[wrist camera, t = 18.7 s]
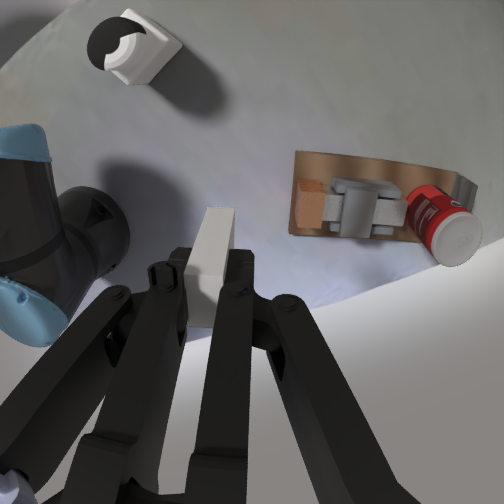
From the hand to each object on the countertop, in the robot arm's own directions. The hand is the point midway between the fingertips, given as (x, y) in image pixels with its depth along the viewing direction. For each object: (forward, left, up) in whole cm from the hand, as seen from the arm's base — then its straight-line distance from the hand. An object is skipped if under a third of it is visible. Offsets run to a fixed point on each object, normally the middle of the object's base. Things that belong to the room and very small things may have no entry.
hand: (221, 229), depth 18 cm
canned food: (+27, -7, -25) cm, 38 cm away
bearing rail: (+20, -7, -26) cm, 34 cm away
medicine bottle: (-13, +13, -27) cm, 32 cm away
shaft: (+15, -7, -25) cm, 30 cm away
